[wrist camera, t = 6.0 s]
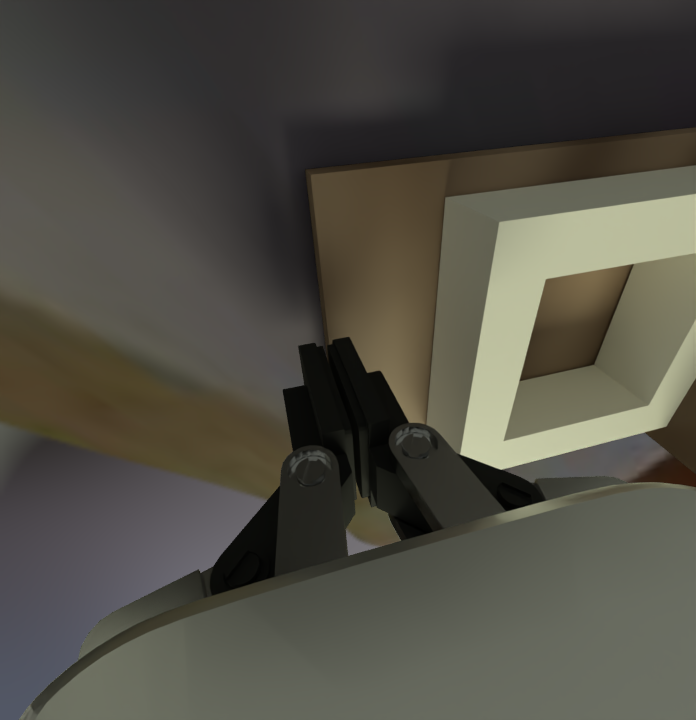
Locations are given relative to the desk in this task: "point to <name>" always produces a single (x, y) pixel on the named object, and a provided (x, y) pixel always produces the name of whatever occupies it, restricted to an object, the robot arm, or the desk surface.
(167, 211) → the desk surface
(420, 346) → the wooden bookend
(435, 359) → the socket block
